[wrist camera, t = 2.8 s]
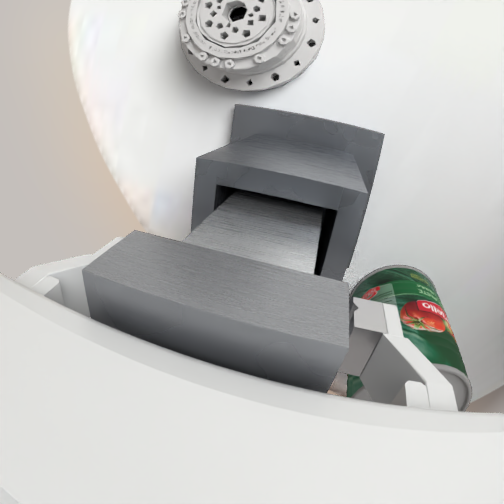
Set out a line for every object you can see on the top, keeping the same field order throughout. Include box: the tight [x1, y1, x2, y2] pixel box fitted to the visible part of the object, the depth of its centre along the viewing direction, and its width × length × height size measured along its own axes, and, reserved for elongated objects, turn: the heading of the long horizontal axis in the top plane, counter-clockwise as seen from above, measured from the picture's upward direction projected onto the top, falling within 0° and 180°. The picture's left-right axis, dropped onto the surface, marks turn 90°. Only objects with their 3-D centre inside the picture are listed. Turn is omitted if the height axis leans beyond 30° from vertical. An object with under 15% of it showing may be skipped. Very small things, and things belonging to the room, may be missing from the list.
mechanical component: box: [178, 0, 325, 91], centre depth 16 cm, size 10×4×10 cm
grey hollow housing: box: [191, 104, 385, 281], centre depth 17 cm, size 10×10×12 cm
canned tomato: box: [347, 265, 472, 412], centre depth 20 cm, size 8×8×11 cm
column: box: [82, 189, 349, 393], centre depth 14 cm, size 5×5×17 cm
